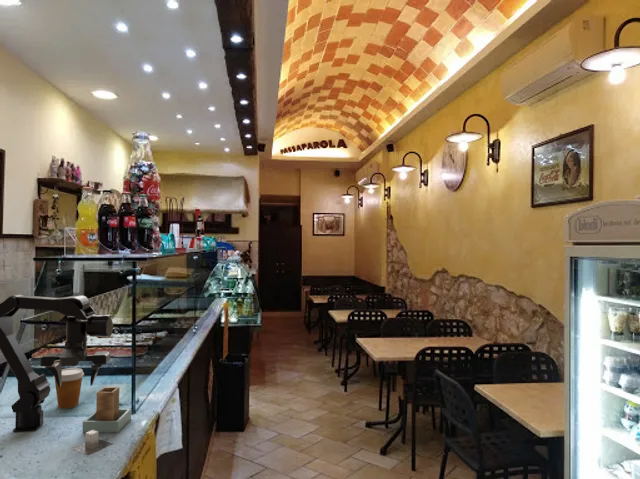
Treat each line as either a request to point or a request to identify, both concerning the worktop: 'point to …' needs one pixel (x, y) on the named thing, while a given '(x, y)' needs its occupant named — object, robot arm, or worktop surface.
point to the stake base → (90, 451)
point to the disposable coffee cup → (69, 388)
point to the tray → (107, 423)
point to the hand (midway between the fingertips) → (75, 386)
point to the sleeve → (107, 404)
